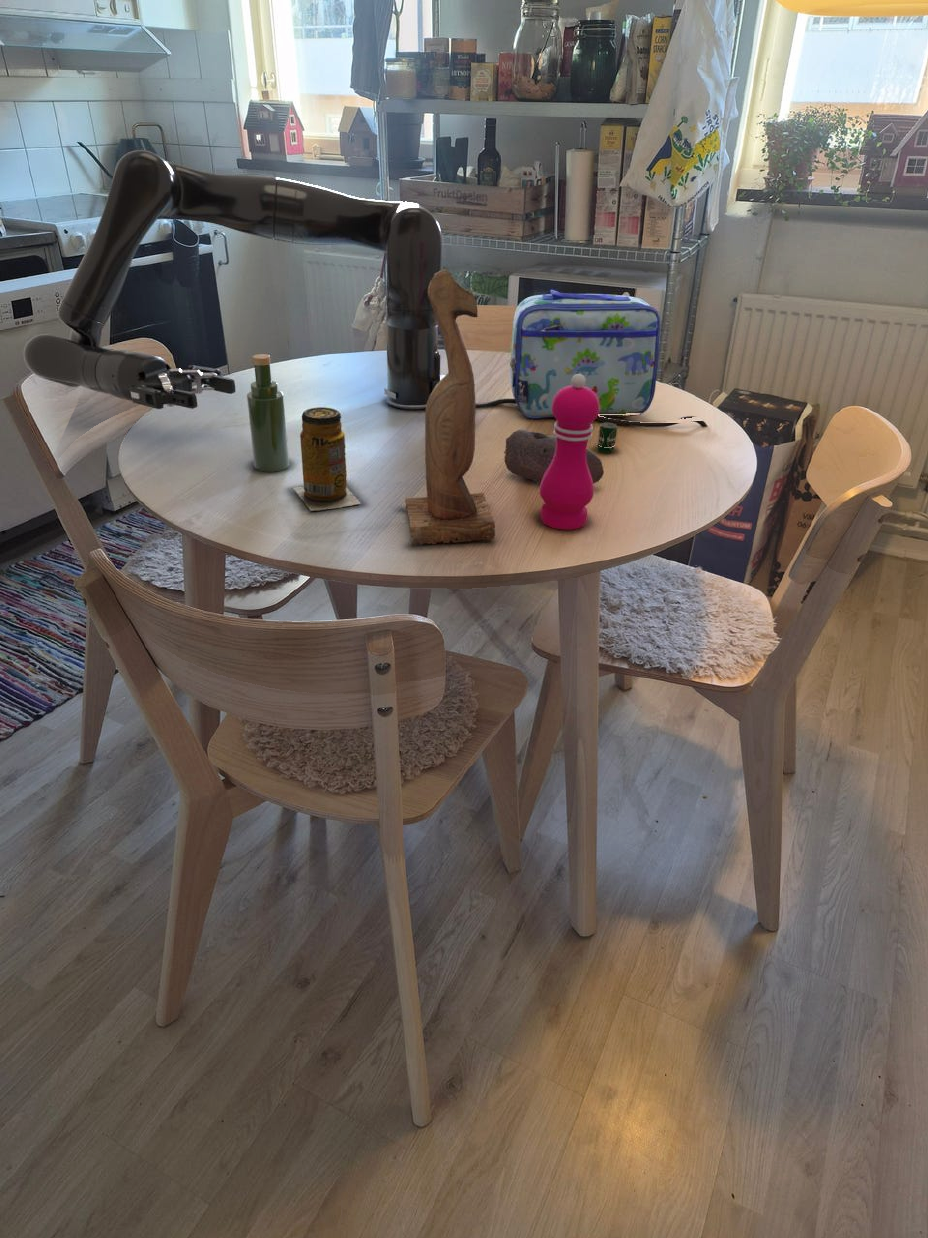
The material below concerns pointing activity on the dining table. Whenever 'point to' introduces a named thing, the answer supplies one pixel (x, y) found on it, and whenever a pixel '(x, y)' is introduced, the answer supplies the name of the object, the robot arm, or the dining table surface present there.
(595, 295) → the lunch box
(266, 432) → the oil bottle
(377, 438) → the dining table surface
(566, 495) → the pepper mill
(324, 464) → the condiment
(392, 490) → the dining table surface
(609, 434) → the beer can
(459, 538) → the bird sculpture
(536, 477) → the perforated stone tool
